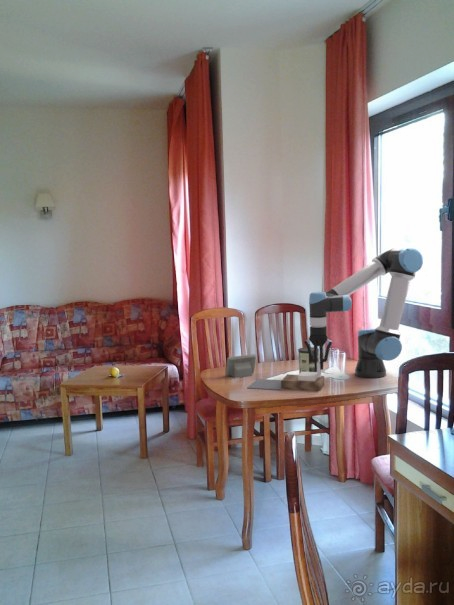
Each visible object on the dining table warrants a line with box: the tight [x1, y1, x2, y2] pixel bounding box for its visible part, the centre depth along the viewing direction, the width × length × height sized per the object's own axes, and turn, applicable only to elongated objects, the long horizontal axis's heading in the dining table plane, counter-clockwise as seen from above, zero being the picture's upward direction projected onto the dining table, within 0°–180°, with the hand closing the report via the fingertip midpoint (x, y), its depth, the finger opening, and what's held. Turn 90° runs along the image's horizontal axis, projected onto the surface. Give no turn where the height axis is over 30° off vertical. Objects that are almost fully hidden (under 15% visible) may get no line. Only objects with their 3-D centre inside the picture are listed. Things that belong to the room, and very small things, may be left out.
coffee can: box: [297, 346, 320, 375], centre depth 265 cm, size 10×10×14 cm
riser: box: [280, 373, 325, 392], centre depth 248 cm, size 18×12×4 cm, turn 70°
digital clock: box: [225, 353, 257, 379], centre depth 274 cm, size 16×9×11 cm, turn 98°
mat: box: [246, 378, 282, 391], centre depth 254 cm, size 16×16×1 cm
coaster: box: [297, 372, 318, 381], centre depth 247 cm, size 8×8×2 cm
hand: (319, 376), depth 245 cm, fingers closed
